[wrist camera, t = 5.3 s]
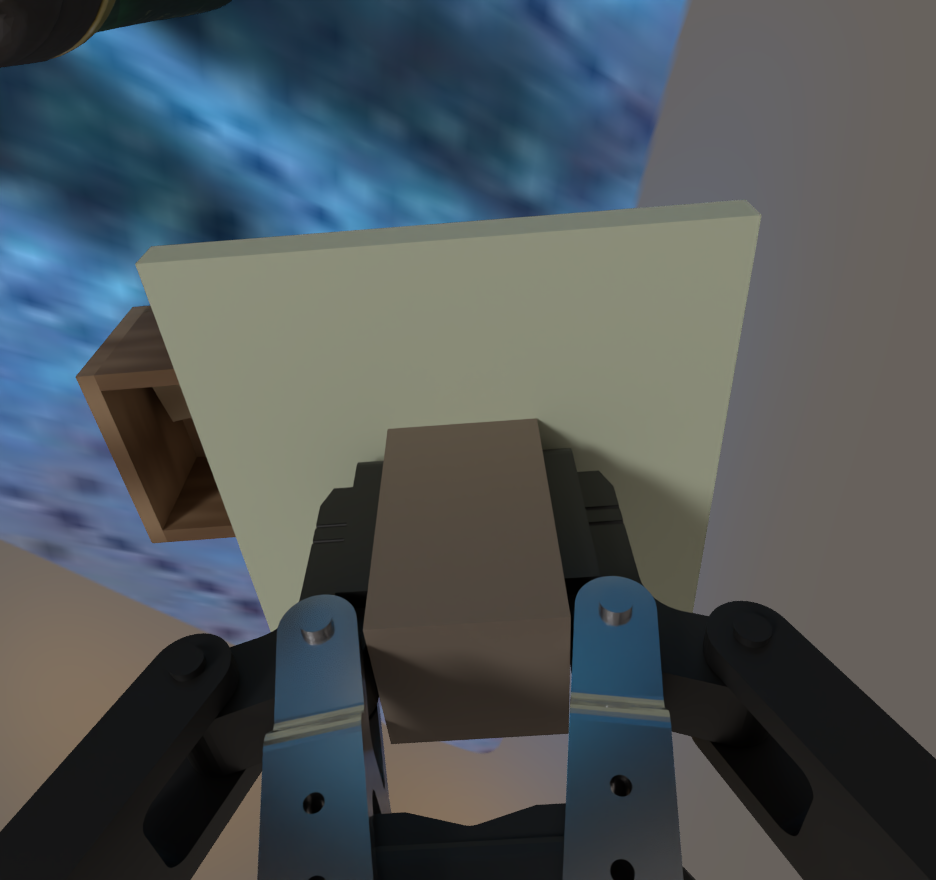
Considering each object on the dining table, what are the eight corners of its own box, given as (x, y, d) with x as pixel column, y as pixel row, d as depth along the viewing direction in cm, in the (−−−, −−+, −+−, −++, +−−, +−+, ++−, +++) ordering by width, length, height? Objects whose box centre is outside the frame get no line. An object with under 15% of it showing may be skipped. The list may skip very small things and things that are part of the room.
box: (132, 307, 37) (75, 376, 31) (325, 291, 36) (303, 358, 31) (191, 460, 42) (152, 543, 37) (357, 448, 42) (344, 528, 37)
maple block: (163, 343, 37) (143, 372, 35) (216, 329, 37) (200, 358, 34) (190, 390, 39) (173, 421, 36) (241, 378, 38) (227, 408, 36)
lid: (151, 246, 13) (-22, 436, 8) (745, 199, 13) (920, 369, 8) (284, 627, 19) (229, 857, 14) (682, 602, 19) (758, 829, 14)
